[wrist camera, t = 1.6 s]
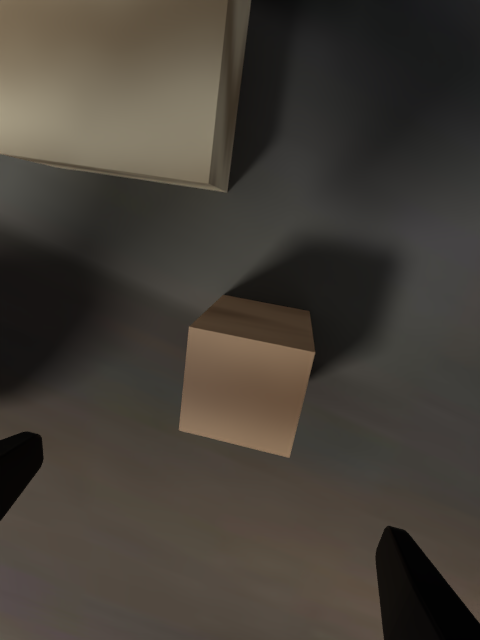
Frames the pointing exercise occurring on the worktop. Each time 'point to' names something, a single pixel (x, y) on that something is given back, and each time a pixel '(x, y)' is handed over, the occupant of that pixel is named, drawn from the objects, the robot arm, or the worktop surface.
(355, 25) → the worktop surface
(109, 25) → the birch block
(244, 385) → the walnut block
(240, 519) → the worktop surface
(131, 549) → the worktop surface
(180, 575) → the worktop surface
